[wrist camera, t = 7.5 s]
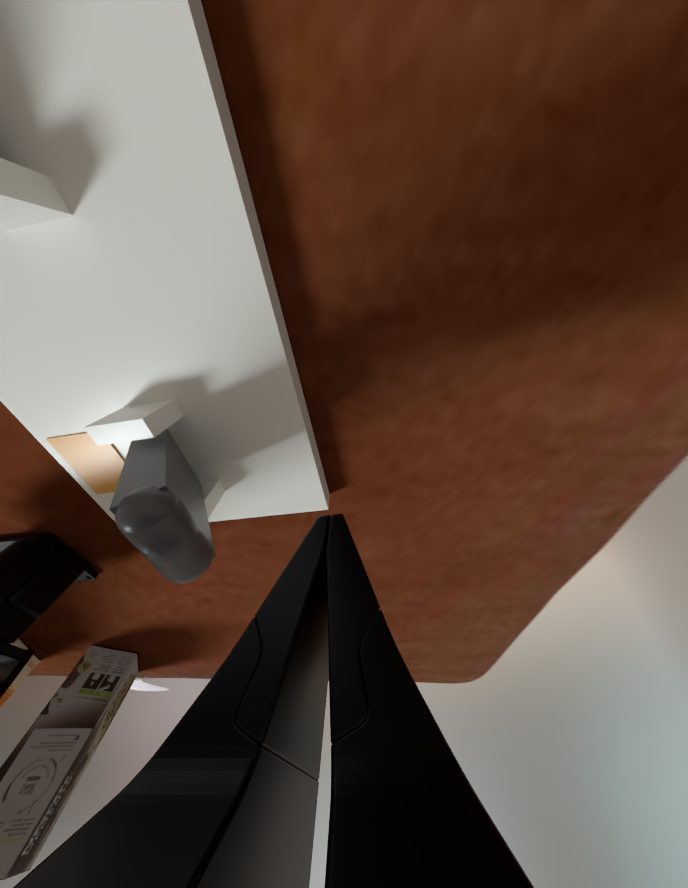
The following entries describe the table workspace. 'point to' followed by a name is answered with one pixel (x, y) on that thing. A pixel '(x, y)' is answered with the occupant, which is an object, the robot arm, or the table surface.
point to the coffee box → (58, 753)
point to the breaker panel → (140, 260)
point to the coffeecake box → (22, 674)
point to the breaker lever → (163, 509)
